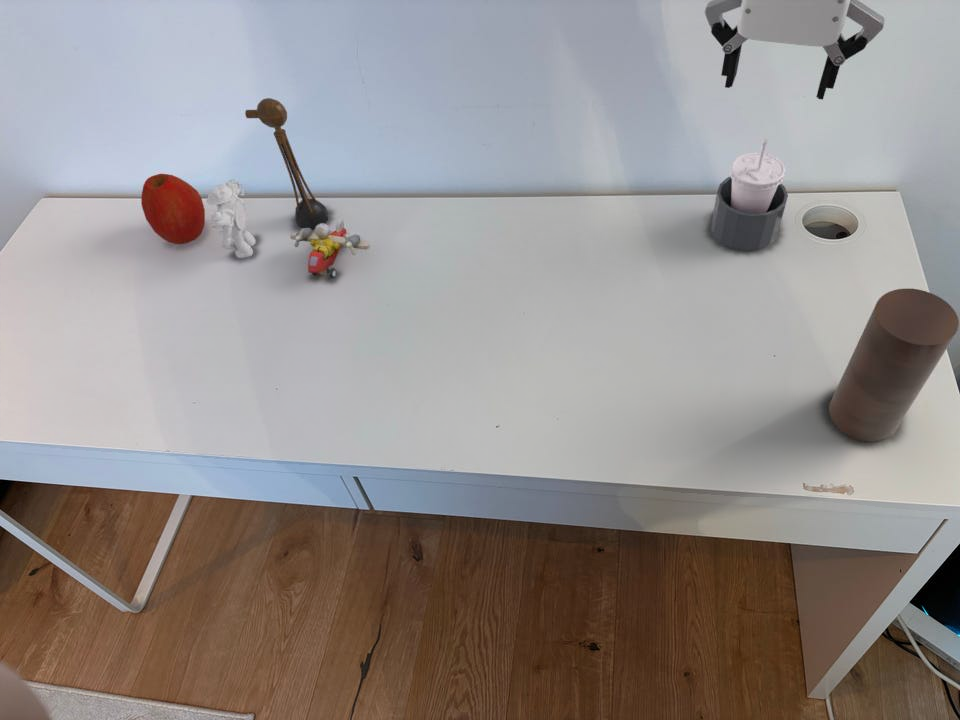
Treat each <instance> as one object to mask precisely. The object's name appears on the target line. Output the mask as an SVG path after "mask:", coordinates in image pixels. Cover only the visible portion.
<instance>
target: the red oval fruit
mask: <svg viewBox="0 0 960 720" xmlns="http://www.w3.org/2000/svg"><path fill="white" fill-rule="evenodd" d="M140 201H141V208H142V211H143V214H144V217H145V220H146V222H147V224H149V226H150V227H151V229H152V230H153V232H154V233H155V234H156V235H157V236H159V237H160V239H161V238H162V239H163V240H164V241H166V242H167V243H171V244H174V245H184V244H188V243H191V242H193V241H195V240H196V239H198V238H199V237H200V236H201V235H202V233H203V231H204V228H205V223H206V218H205V217H206V211H205V210H206V209H205V205H204V202H203V199H202V195H200V193H199V191H198V189H196V188H195V187H194V186H192V185H191V184H190V183H189V182H187V181H185V180H184V179H182V178H180V177H178V176H176V175H173V174H169V173H158V174H154V175H151V176H149V177H148V178H146V180H145V181H144V183H143V186H142V190H141V200H140Z"/></svg>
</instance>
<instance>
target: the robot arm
mask: <svg viewBox="0 0 960 720" xmlns="http://www.w3.org/2000/svg"><path fill="white" fill-rule="evenodd" d="M738 8H739V14H738V20H737V25H735V26H734V27H733V28H732V27H731V25H729V23H727V21H726V20H725V19H724V16H723V15H724V14H725V13H727V12H731V11H734V10H736V9H738ZM704 15H705V17H706V20H707V23H708V26H709V27H710V29H711V31H710V33H711V35H712V36H713V37H714V38H715V40H716V41H717V42H718V43H719V44H720V46H721V50H722V52H723V53H724V55H723V63H722V67H721V74H720V76H721V77H726V79H725V85H724V88H727V89H730V88H733V85H734V82H735V80H736V77H737V73H738V68H739V64H740V63H739V62H740V57H741V52H742V47H743V44H744V43H745V42H747V40H752V41H757V42H766V43H767V42H768V43H775V44H785V45H797V46H807V47H822V48H823V50H824V52H825V53H826V55H827V56H826V59H825V64H824V67H823V71H822V74H821V78H820V81H819V84H818V88H817V91H816V92H817V94H816V96H815V97H816V98H817V100H822V101H823V100H824V97H825V94H826V90H827V89H831V90H833V89H834V87H835V83H836V80H837V77H838V74H839V71H840V67H841V66H842V65H844V63H845V62H846V61H847V60H848V59H850V58H851V57H854V56H855V55H857V54H859V53H860V52H862V51H864V49H865V48H866V47H867V45H869V43H870V42H872V41H873V39H874V38H876V37H877V36H878V34H879V33H880V32H881V31H882V30H883V29H884V25H885V21H886V19H885V18H884V16H882V15H881V14H880V13H878V12H877V11H875V10H874V9H871V7H869V6H867V5H866V4H864V3H863V2H861V1H860V0H710V1H709V2H707V4H706V6H705V9H704ZM847 18H849V19H850V20H851V21H853V22H854V23H857V24H858V25H859V26H860V27H862V28H861V30H860V31H859V32H857V33H855V34H853V35H851V36H850V37H848V38H847V39H846V38H845V37H844V34H843V33H842V32H843V29H844V25H845V22H846V19H847Z"/></svg>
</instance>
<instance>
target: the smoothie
mask: <svg viewBox="0 0 960 720" xmlns="http://www.w3.org/2000/svg"><path fill="white" fill-rule="evenodd" d="M768 140H769V139H766V138H763V139H762V142H761V146H760V150H759V152H748V153H744V154H742V155H739V156H737V157H736V158H735V159H734V160H733V161H732V162H731V166H730V169H729V177H731V179H732V191H731V208H733V209H735V210H737V211H739V212H744V213H749V214H760V213H767V210H768V208H769V206H770V203H771V201H772V199H773V196H774V194H775V192H776V189H777V187H778V185H779V184H782V183H783V181H784V179H785V174H786V167H785V165H784V163H783V162H782V161H781V160H780V159H779V158H777V157H776V156H775V155H772V154H769V153H766V149H767V145H768Z"/></svg>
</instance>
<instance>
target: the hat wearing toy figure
mask: <svg viewBox="0 0 960 720" xmlns="http://www.w3.org/2000/svg"><path fill="white" fill-rule="evenodd" d="M241 191H242V192H241ZM239 196H241V197H244V196H245V189H244V187H242V182H240V181H236V180H235V178H234V179H232V178H231V179H229V180H228V181H226V182H225V183H220V184H218V185H216V186H214V187H213V188H212V189H211V192H209V193H208V195H207V198H206V203H207V204H208V205H209V206H216V208H217V210H213V212H214V213H213V214H211V215H210V216H211V218H210V220H209V224H210V225H211V224H212V226H211V228H213V229H215V230H216V231H217V232H218V233H222V240H221V242H220V243H221V246H222V247H223V248H224V249H225V250H230V249H231V244H232V241H233V244H234V246H235V247H236V248H237V250H235V252H234V253H235V256H236V258H238V259H244V258H249V257H252V255H253V254H254V250H253V248H252V247H253V246H254V245H256V242H257V240H256V238H255V237H254V235H253V234H252V233H251V232H249V231H248V230H247V226H246V224H247V211H246V207H245V206H246V203H245V202H244V201H243V200H242V199H241V198H240V197H239ZM215 211H216V212H215ZM218 228H222V229H218Z"/></svg>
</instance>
